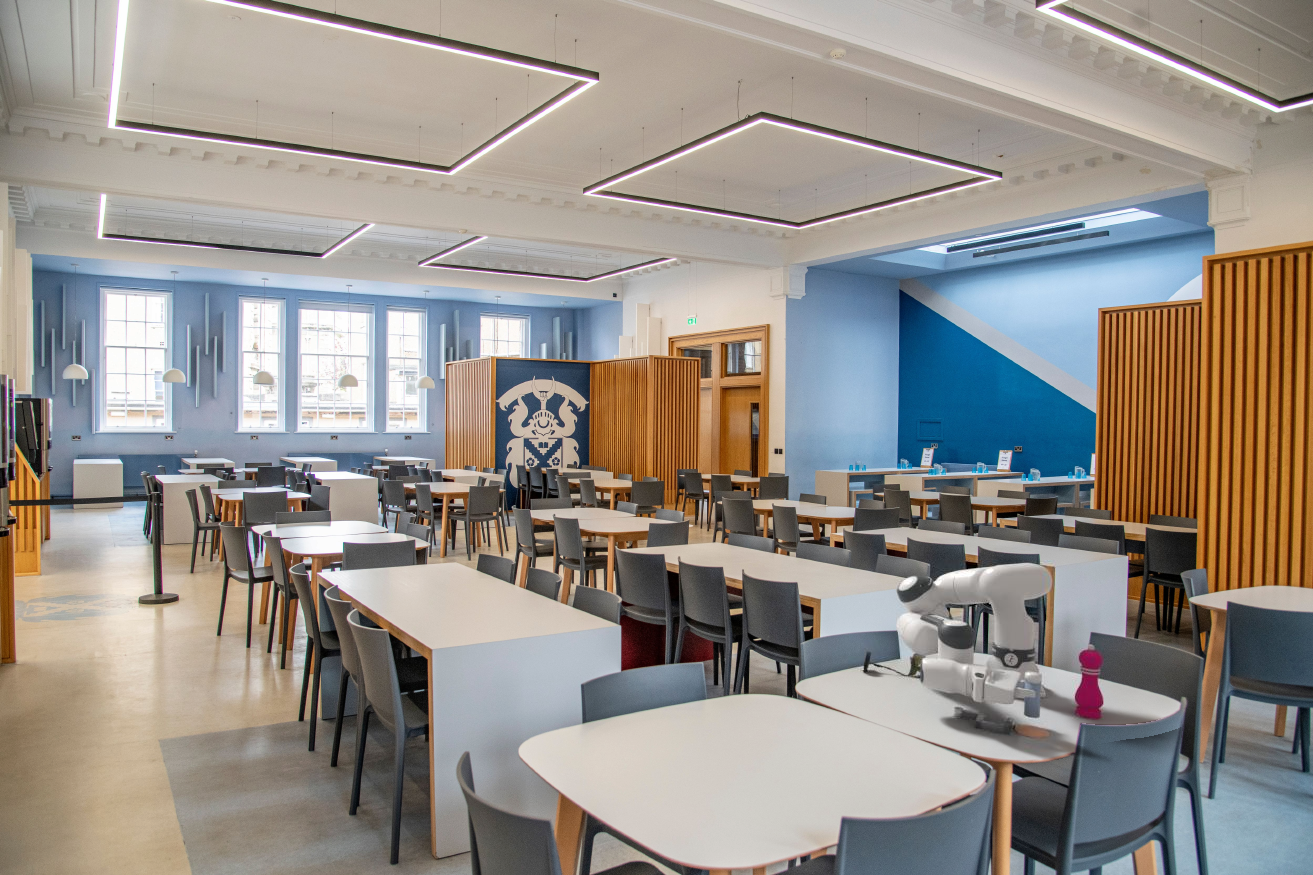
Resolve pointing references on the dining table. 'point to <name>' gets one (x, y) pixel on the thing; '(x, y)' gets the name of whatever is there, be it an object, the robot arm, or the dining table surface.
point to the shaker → (1033, 704)
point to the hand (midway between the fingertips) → (1036, 691)
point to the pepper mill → (1089, 685)
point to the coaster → (1031, 731)
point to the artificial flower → (914, 668)
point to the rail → (983, 724)
